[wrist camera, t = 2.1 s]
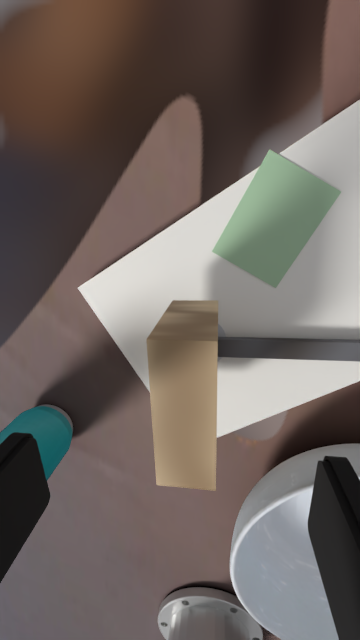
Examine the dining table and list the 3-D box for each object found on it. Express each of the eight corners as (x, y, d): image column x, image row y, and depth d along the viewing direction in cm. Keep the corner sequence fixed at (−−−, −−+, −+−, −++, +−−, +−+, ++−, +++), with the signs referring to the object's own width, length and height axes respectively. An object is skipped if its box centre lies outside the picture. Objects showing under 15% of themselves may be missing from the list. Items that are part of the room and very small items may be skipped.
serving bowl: (184, 481, 28) (174, 556, 22) (374, 361, 22) (438, 416, 15) (312, 599, 31) (337, 696, 25) (514, 523, 25) (619, 628, 18)
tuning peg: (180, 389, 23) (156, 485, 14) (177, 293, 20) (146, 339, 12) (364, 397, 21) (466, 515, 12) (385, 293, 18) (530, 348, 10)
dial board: (475, 320, 20) (496, 327, 18) (190, 437, 26) (188, 449, 25) (383, 76, 17) (400, 60, 15) (82, 279, 23) (73, 282, 22)
